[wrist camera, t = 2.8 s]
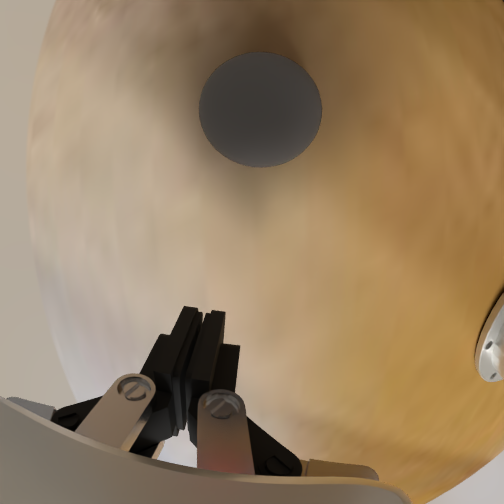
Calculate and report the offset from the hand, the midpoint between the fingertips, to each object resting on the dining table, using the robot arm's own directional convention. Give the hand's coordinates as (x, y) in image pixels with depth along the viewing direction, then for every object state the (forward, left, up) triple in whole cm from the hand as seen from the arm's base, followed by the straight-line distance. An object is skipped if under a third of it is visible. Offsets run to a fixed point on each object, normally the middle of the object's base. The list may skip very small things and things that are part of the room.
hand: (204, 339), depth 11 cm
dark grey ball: (-3, -9, -4) cm, 10 cm away
